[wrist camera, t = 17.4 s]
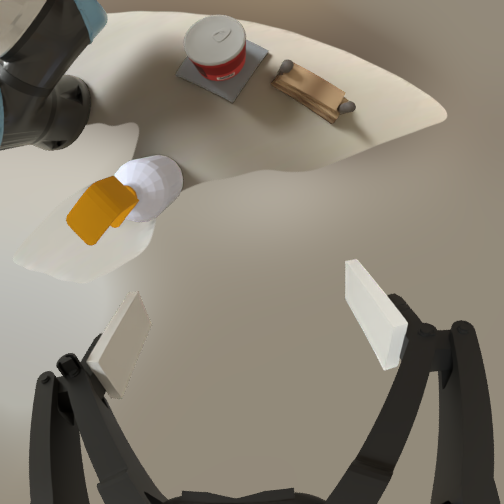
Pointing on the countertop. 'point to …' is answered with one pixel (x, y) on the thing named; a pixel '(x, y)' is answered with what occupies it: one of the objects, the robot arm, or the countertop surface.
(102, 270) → the countertop surface
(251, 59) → the slate mat
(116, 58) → the countertop surface
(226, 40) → the canned food
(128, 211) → the soap bottle
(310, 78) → the offcut rack
